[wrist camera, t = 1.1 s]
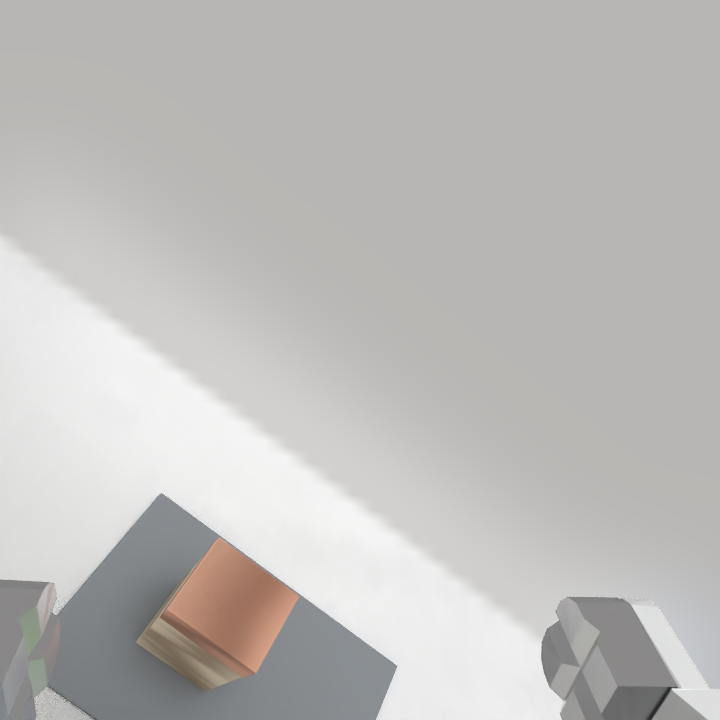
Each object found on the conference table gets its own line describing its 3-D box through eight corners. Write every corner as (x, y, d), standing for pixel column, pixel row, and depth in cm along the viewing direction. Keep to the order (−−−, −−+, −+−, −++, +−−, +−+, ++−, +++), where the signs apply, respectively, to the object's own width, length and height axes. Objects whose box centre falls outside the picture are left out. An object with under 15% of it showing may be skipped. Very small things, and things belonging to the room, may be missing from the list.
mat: (17, 664, 33) (17, 662, 32) (159, 495, 41) (161, 493, 40) (310, 870, 34) (313, 872, 33) (393, 666, 42) (397, 665, 41)
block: (134, 643, 35) (167, 609, 28) (177, 582, 38) (219, 537, 30) (204, 693, 35) (256, 673, 28) (243, 629, 38) (299, 596, 31)
